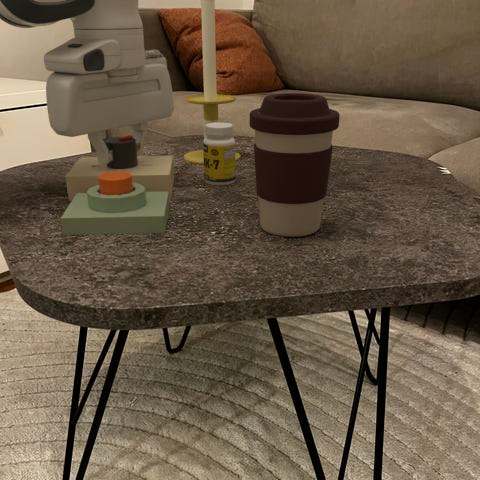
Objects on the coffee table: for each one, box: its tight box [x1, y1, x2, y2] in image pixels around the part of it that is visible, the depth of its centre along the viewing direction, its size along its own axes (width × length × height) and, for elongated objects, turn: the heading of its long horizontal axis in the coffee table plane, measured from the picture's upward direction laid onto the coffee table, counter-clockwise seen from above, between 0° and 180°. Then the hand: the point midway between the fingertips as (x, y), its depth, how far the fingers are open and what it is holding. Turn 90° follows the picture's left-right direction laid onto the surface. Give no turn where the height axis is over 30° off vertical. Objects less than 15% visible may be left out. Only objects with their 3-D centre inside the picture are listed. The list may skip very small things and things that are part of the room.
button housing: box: [60, 183, 171, 236], centre depth 73 cm, size 12×10×4 cm
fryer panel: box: [65, 155, 175, 202], centre depth 86 cm, size 14×11×4 cm
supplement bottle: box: [202, 122, 236, 186], centre depth 88 cm, size 5×5×8 cm
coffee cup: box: [249, 92, 341, 238], centre depth 68 cm, size 10×10×15 cm
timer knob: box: [103, 134, 138, 169], centre depth 84 cm, size 4×4×4 cm
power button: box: [98, 172, 133, 195], centre depth 72 cm, size 4×4×2 cm
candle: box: [183, 0, 241, 165], centre depth 97 cm, size 10×10×27 cm
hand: (121, 158), depth 84 cm, fingers closed on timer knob, 4 cm apart
